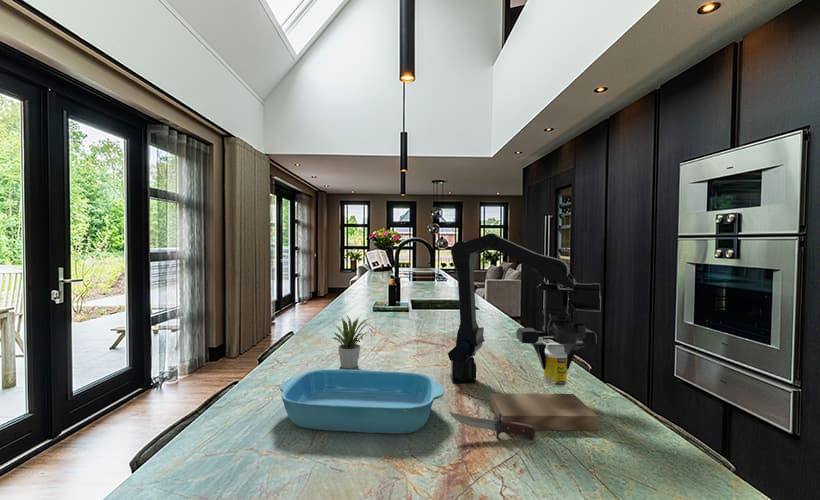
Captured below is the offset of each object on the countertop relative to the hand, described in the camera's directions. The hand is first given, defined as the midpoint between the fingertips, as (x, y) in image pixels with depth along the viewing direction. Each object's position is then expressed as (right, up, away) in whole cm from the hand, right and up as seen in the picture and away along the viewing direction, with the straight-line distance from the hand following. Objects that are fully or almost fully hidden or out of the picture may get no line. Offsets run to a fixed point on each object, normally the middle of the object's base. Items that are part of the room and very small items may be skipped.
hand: (555, 369), depth 97 cm
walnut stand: (-8, -7, -12) cm, 16 cm away
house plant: (-55, -7, +24) cm, 60 cm away
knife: (-21, -7, -21) cm, 30 cm away
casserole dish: (-48, -7, -11) cm, 50 cm away
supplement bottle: (0, -4, 0) cm, 4 cm away
